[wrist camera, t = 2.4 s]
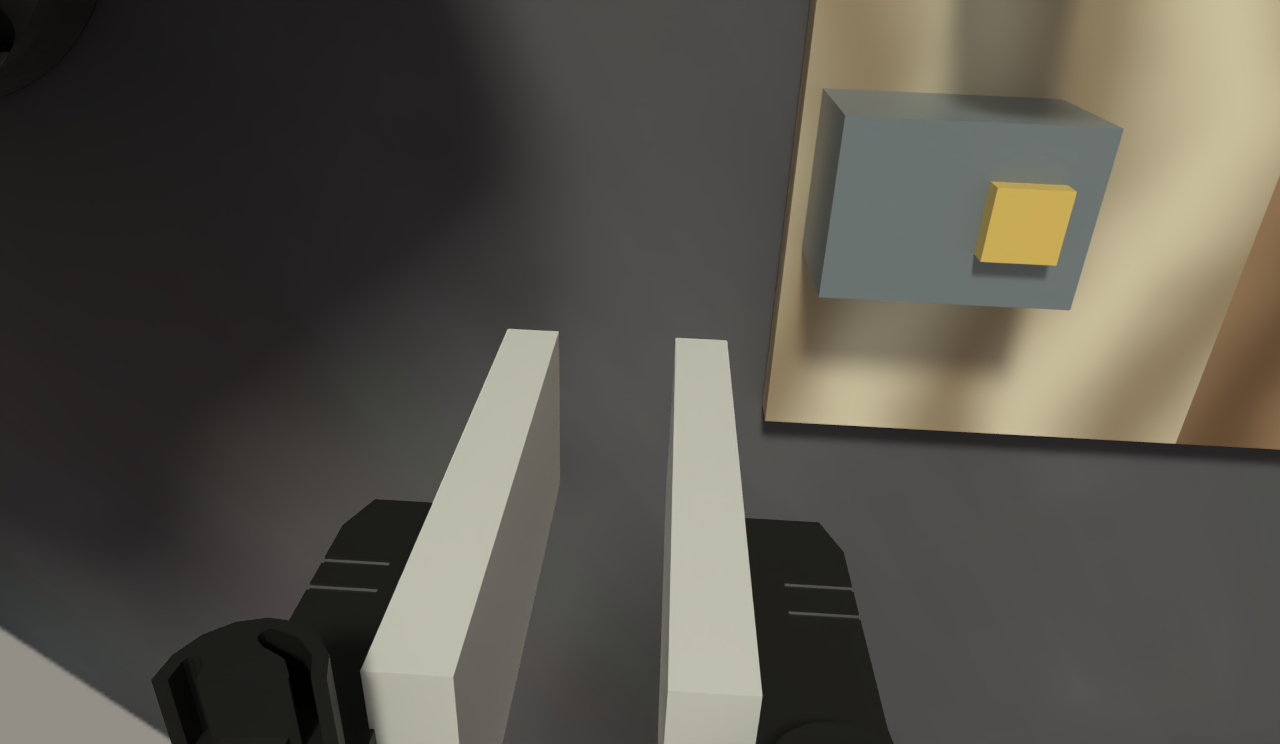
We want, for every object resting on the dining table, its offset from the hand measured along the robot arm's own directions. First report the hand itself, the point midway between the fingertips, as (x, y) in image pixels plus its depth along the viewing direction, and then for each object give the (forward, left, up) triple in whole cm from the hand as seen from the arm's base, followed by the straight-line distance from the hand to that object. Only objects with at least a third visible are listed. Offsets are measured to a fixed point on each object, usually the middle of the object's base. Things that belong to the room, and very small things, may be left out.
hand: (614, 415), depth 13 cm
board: (+17, -1, -16) cm, 23 cm away
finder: (+9, 0, -15) cm, 17 cm away
